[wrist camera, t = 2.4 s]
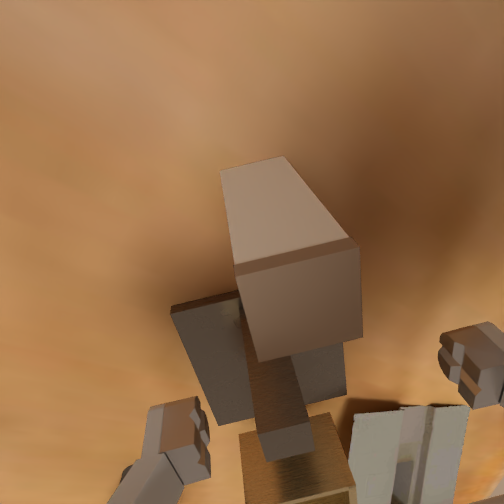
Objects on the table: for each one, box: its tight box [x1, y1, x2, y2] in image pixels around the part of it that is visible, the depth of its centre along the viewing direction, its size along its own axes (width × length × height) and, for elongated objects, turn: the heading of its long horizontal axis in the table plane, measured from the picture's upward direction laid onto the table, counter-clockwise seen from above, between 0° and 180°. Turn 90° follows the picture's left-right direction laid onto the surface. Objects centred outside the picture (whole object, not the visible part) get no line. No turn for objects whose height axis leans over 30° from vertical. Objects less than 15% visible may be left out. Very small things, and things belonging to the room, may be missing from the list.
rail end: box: [220, 156, 363, 362], centre depth 19 cm, size 5×5×13 cm
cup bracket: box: [170, 290, 357, 504], centre depth 27 cm, size 14×16×13 cm
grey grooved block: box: [348, 405, 470, 504], centre depth 41 cm, size 19×10×17 cm
